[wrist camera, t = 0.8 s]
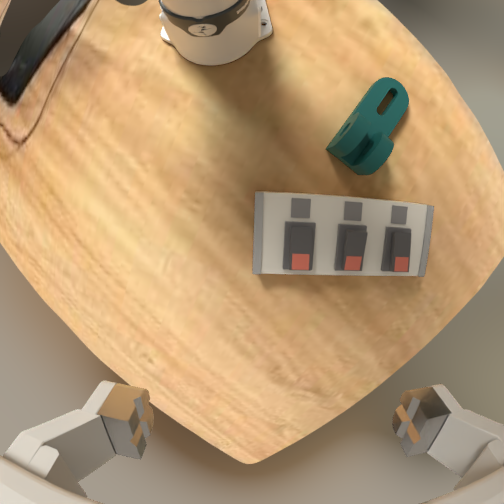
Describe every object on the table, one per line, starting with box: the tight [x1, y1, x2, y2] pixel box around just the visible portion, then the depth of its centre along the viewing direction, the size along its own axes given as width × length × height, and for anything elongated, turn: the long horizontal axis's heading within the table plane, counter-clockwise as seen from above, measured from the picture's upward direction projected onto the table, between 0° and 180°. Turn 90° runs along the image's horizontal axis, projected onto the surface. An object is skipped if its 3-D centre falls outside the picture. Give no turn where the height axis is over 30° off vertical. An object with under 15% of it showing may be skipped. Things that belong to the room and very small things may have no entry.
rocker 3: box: [390, 232, 411, 272], centre depth 42 cm, size 6×3×1 cm, turn 178°
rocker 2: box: [341, 229, 368, 271], centre depth 42 cm, size 6×3×1 cm, turn 178°
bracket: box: [326, 77, 409, 175], centre depth 39 cm, size 18×7×8 cm, turn 145°
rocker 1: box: [289, 227, 313, 271], centre depth 42 cm, size 6×3×1 cm, turn 178°
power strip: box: [253, 191, 434, 277], centre depth 45 cm, size 12×29×5 cm, turn 88°
